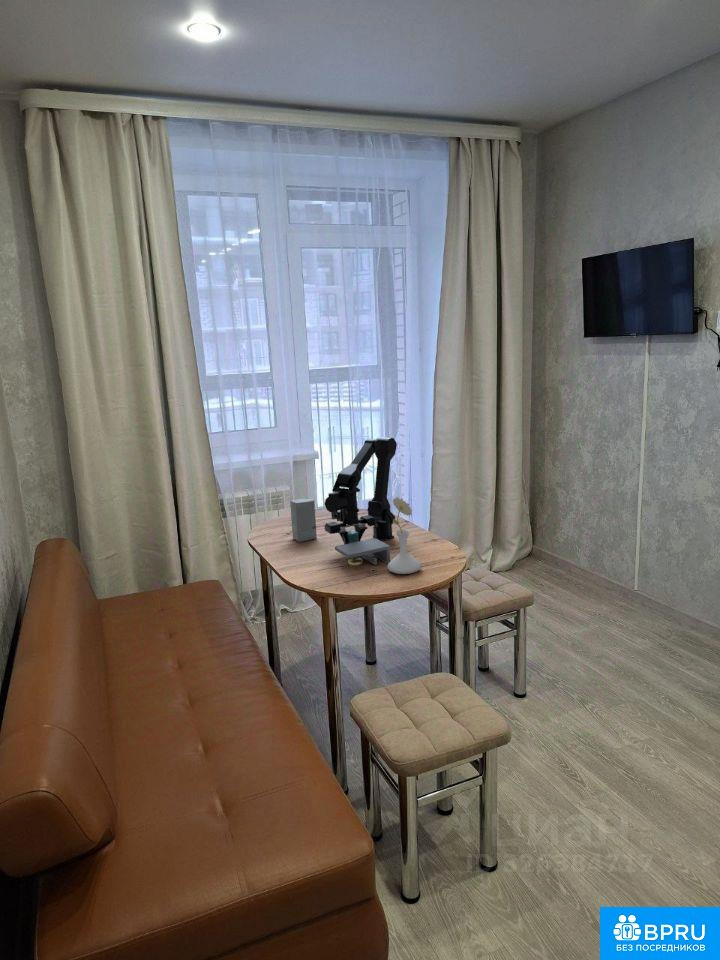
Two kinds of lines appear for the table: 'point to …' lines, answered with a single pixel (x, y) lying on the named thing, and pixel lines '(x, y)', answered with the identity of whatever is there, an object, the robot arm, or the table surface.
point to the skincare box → (303, 519)
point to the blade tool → (354, 537)
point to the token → (355, 562)
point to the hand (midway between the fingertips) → (351, 546)
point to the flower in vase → (403, 545)
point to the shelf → (366, 549)
